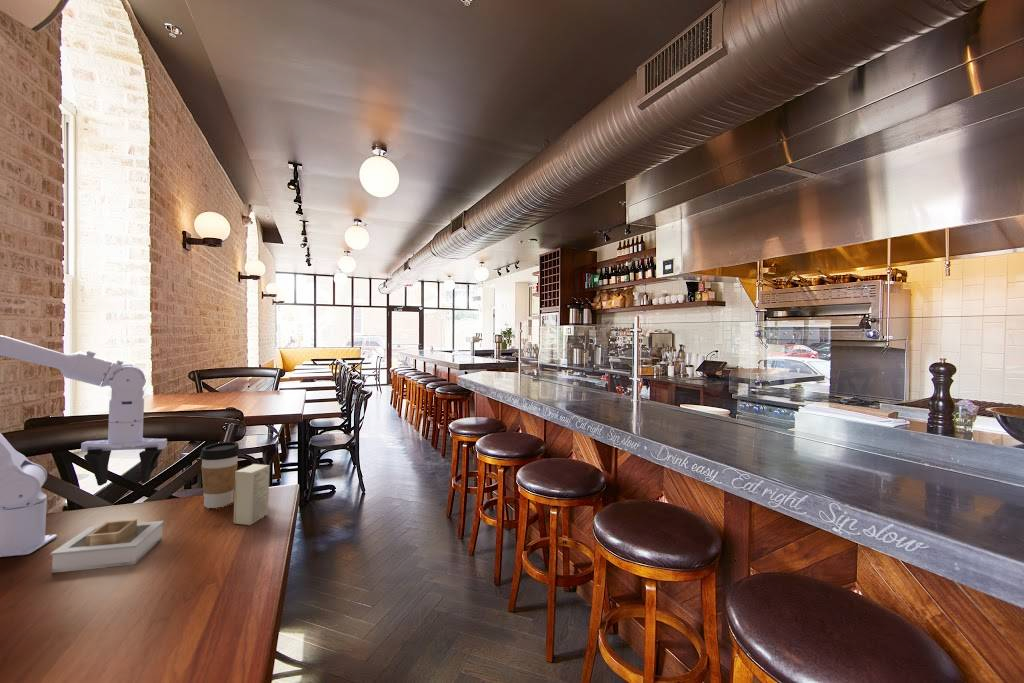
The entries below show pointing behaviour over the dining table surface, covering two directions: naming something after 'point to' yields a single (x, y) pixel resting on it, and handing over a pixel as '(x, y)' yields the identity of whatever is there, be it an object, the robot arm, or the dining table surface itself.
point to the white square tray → (105, 550)
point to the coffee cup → (219, 473)
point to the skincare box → (251, 493)
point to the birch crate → (113, 533)
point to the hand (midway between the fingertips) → (124, 482)
